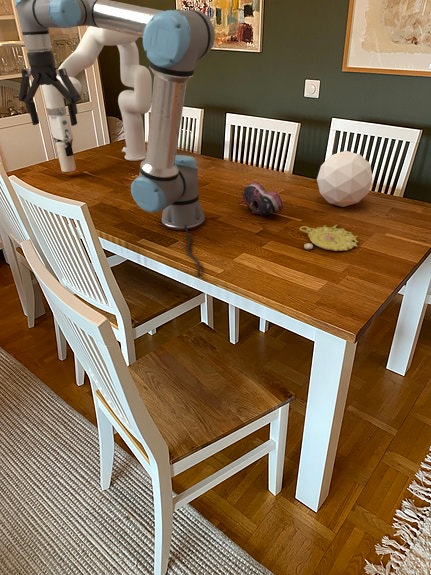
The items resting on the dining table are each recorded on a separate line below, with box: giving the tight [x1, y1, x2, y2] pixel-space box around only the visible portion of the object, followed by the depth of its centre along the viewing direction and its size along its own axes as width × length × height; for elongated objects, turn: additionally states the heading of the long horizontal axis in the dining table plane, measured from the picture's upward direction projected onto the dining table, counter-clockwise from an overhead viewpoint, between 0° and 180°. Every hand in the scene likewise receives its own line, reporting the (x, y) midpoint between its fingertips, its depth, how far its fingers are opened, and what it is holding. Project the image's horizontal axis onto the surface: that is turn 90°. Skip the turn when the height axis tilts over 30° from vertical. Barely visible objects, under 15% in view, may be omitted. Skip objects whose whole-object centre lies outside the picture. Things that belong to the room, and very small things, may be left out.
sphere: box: [316, 150, 374, 208], centre depth 161 cm, size 19×20×20 cm
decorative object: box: [299, 224, 359, 252], centre depth 141 cm, size 21×2×20 cm
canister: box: [55, 141, 77, 173], centre depth 197 cm, size 6×6×12 cm
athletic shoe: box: [238, 182, 284, 217], centre depth 160 cm, size 11×22×12 cm
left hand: (65, 153), depth 196 cm, fingers closed on canister, 6 cm apart
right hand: (55, 124), depth 144 cm, fingers open, 13 cm apart
